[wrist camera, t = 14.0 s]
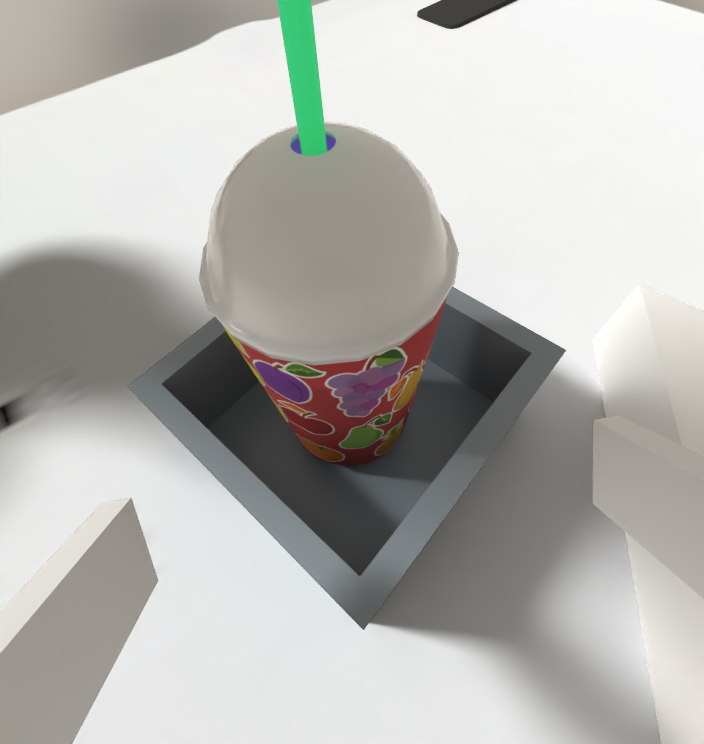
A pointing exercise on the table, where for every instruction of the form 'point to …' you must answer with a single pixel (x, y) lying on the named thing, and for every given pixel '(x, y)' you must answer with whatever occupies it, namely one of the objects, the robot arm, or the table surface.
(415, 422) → the tray
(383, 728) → the table surface
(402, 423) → the smoothie
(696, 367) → the triangle block
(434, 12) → the phone
